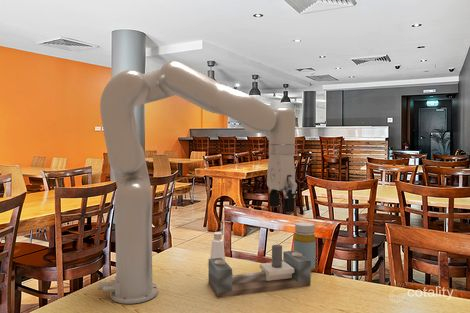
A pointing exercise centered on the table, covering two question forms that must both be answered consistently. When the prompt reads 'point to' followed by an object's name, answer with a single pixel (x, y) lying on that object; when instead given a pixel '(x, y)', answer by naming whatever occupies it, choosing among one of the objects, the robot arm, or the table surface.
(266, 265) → the carriage
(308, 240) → the bottle
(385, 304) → the table surface
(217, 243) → the pepper shaker
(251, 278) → the rail track
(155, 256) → the table surface
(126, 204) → the robot arm
